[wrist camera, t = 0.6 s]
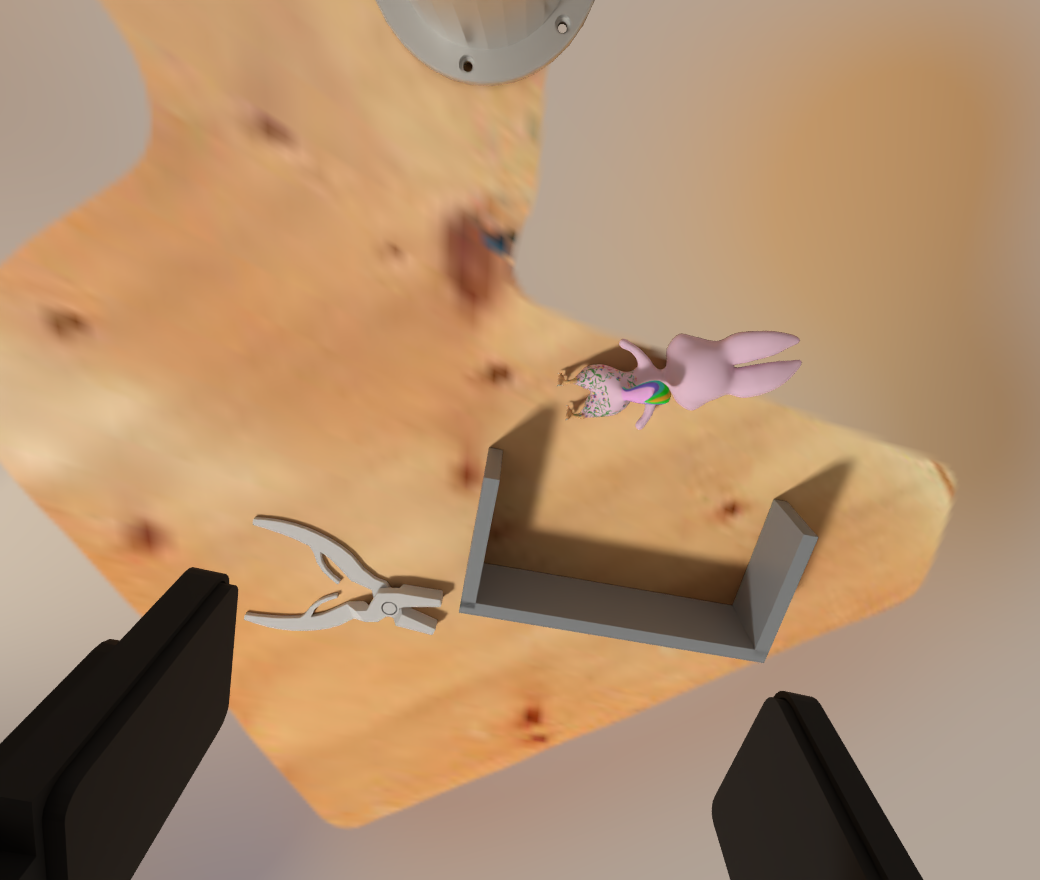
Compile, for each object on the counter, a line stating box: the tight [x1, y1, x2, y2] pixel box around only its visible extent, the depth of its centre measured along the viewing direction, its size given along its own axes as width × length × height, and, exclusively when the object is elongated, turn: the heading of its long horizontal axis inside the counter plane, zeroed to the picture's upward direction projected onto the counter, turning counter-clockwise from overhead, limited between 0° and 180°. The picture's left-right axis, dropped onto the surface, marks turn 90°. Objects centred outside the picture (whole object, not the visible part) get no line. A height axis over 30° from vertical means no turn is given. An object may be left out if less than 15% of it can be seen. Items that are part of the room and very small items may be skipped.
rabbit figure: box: [557, 331, 802, 430], centre depth 37 cm, size 6×6×15 cm
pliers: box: [244, 517, 443, 635], centre depth 46 cm, size 10×2×15 cm
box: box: [459, 448, 818, 663], centre depth 42 cm, size 10×22×5 cm, turn 79°
